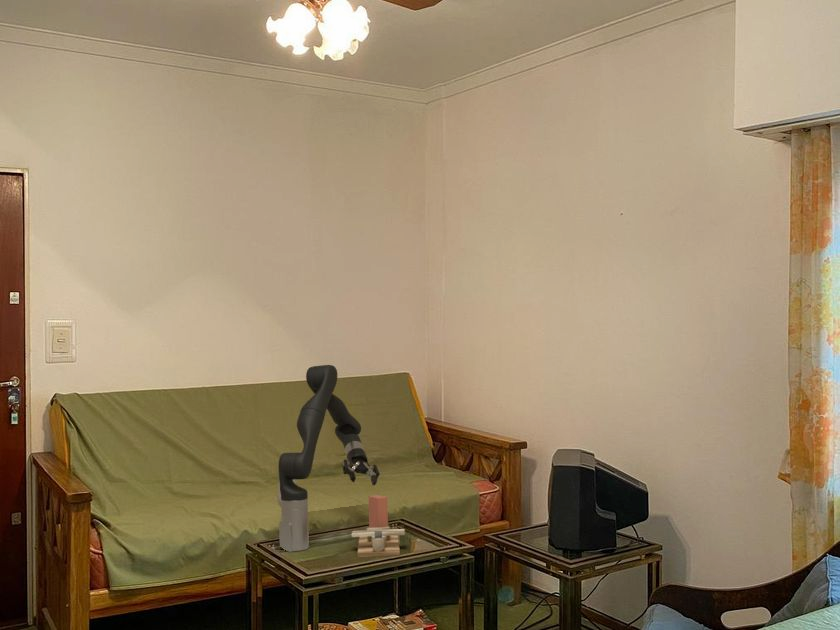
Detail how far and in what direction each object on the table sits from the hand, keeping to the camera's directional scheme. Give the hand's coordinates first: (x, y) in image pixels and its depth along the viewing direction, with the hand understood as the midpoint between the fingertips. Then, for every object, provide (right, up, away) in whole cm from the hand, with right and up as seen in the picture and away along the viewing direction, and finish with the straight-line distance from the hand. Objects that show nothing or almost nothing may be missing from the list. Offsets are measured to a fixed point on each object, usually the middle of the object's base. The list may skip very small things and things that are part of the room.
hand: (364, 482), depth 320 cm
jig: (+7, -18, -25) cm, 32 cm away
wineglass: (-28, -20, -4) cm, 35 cm away
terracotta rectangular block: (+6, -18, -5) cm, 20 cm away
